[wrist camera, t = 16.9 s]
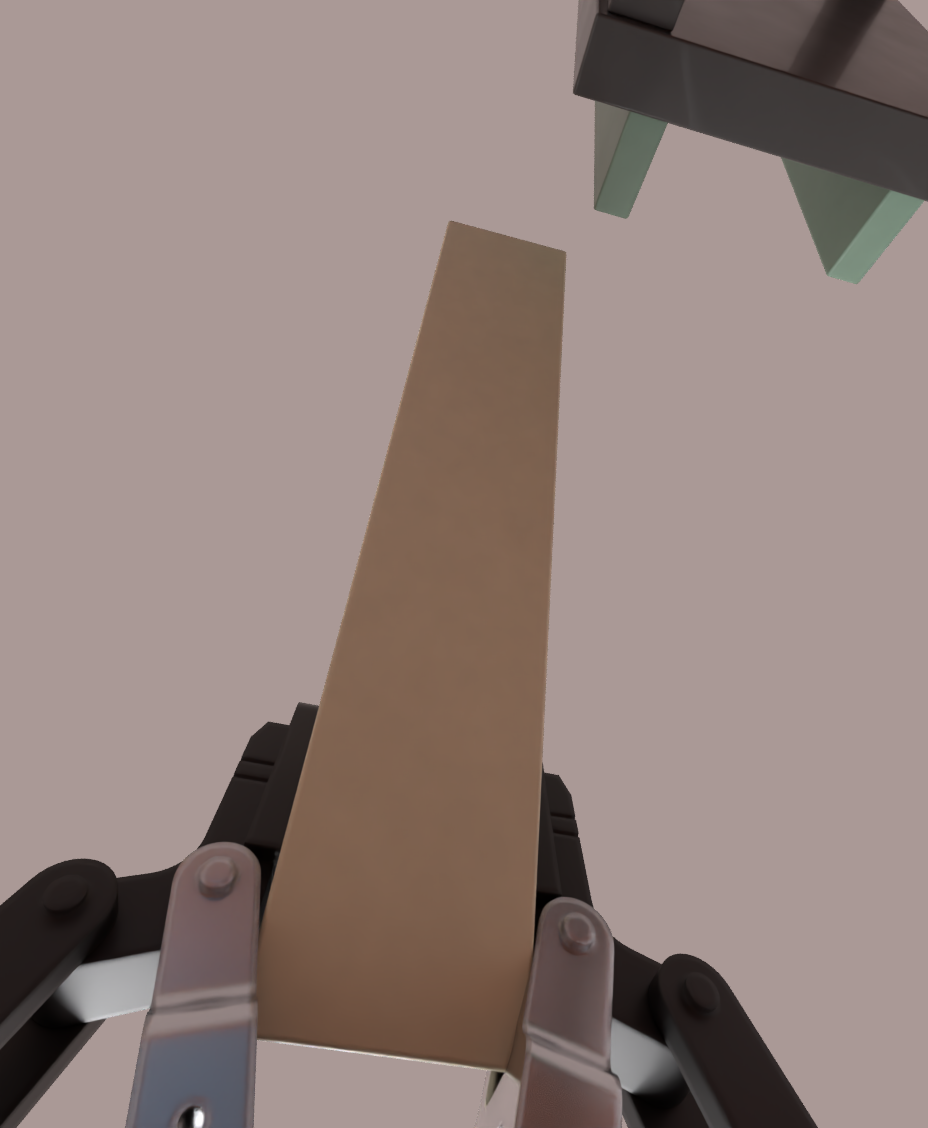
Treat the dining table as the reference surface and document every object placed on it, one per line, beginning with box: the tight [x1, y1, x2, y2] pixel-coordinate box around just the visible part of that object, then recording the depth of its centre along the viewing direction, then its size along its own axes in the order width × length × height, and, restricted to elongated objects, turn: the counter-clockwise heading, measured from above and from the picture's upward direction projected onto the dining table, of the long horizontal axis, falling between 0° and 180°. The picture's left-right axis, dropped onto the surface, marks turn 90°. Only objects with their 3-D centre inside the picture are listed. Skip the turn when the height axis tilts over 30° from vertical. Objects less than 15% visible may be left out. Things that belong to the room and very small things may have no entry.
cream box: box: [256, 221, 566, 1072], centre depth 15 cm, size 21×4×4 cm, turn 7°
